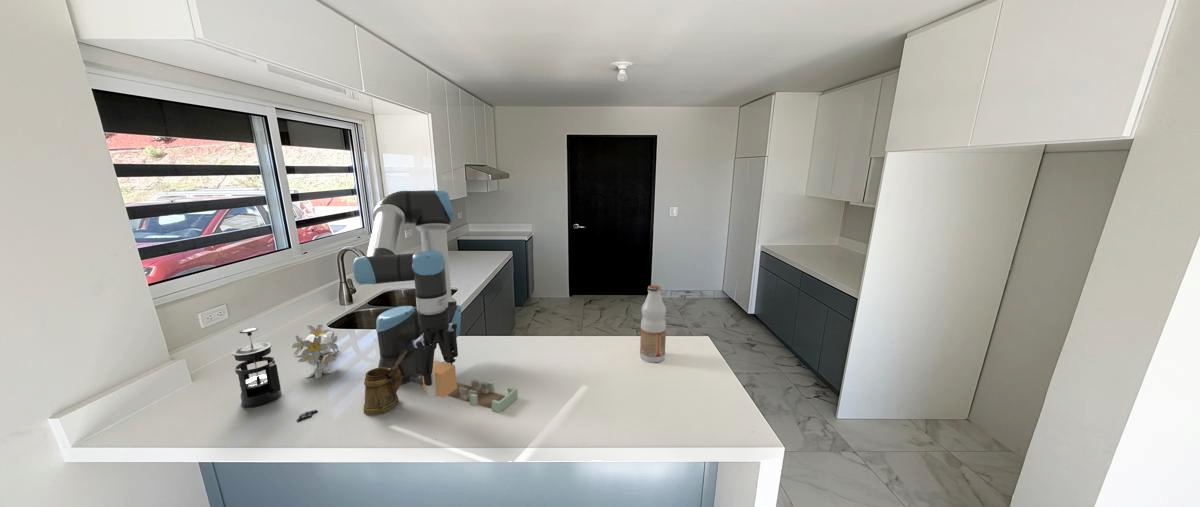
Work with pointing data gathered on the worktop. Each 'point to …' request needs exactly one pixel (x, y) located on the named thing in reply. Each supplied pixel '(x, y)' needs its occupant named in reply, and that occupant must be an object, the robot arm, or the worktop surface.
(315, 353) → the flower vase
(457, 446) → the worktop surface
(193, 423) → the worktop surface
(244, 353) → the french press
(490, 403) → the board
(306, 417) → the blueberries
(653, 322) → the fruit juice
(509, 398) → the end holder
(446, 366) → the plug
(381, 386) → the wooden mug
